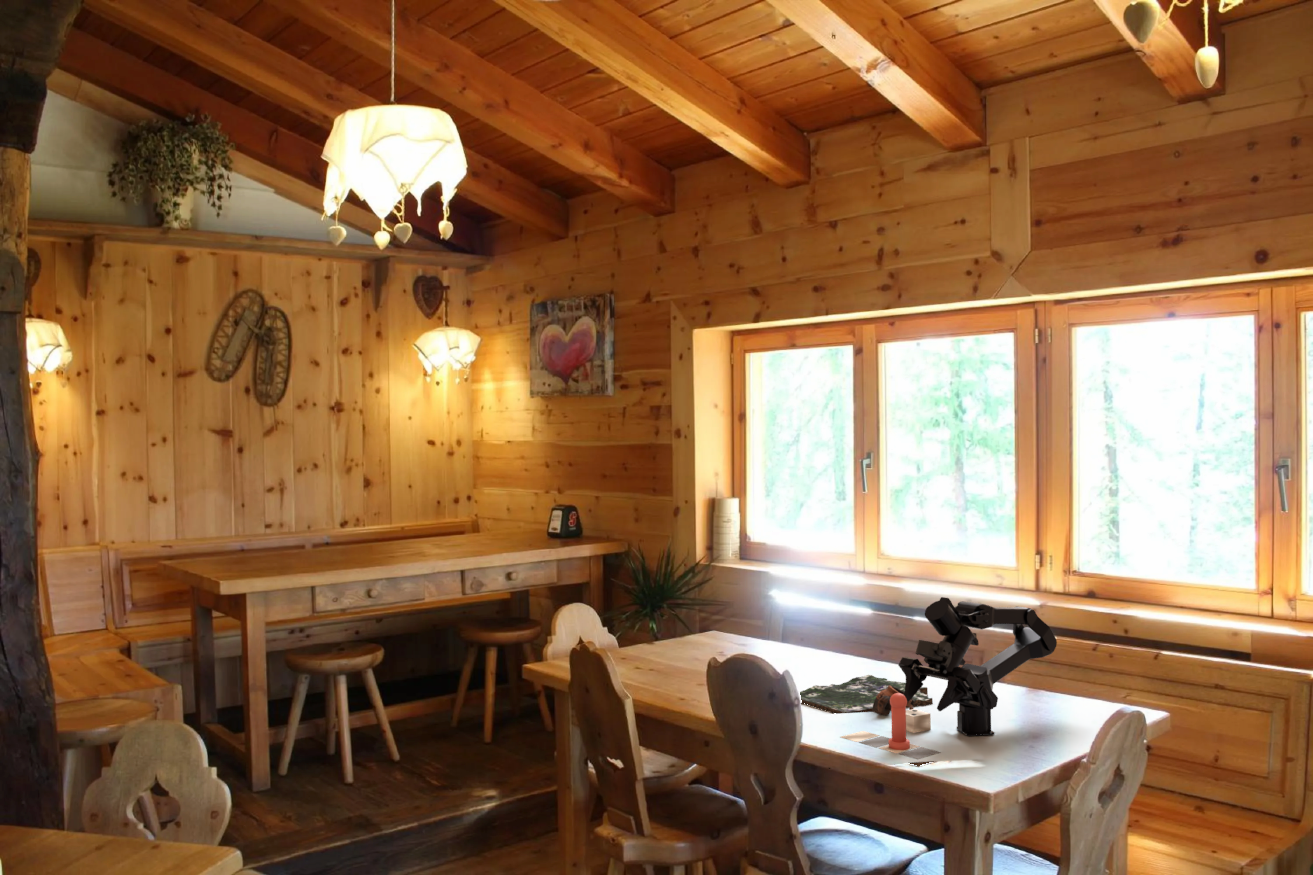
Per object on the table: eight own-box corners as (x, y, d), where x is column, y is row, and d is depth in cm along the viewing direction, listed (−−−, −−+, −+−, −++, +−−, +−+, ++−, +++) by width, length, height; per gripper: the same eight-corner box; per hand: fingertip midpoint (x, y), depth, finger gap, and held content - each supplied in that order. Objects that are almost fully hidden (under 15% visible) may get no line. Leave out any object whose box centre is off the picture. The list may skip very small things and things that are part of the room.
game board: (835, 742, 230) (835, 736, 230) (862, 735, 236) (862, 729, 236) (918, 766, 212) (918, 760, 212) (946, 758, 217) (946, 752, 217)
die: (915, 730, 239) (915, 708, 239) (930, 735, 235) (930, 713, 235) (898, 733, 237) (898, 711, 237) (913, 738, 232) (913, 716, 233)
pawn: (899, 742, 225) (898, 689, 225) (914, 747, 221) (913, 693, 221) (884, 746, 222) (883, 692, 222) (898, 751, 219) (897, 696, 219)
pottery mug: (874, 711, 259) (890, 682, 258) (906, 733, 253) (923, 704, 253) (859, 709, 248) (876, 680, 248) (893, 732, 243) (910, 702, 243)
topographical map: (786, 700, 271) (786, 689, 271) (878, 683, 288) (878, 672, 288) (854, 722, 249) (854, 709, 249) (949, 702, 266) (949, 690, 266)
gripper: (902, 620, 237) (870, 676, 230) (971, 631, 222) (938, 691, 215) (926, 651, 241) (895, 706, 235) (994, 663, 226) (963, 722, 220)
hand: (921, 705), depth 226 cm, fingers open, 9 cm apart
